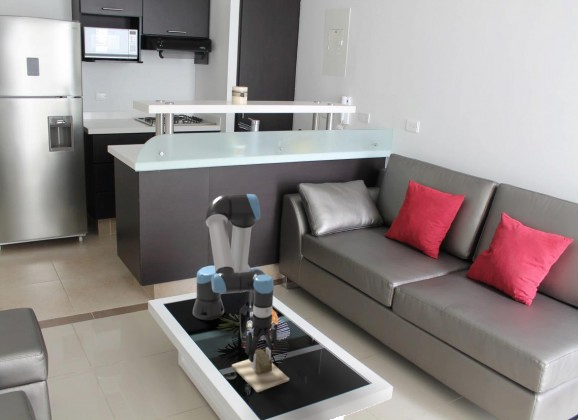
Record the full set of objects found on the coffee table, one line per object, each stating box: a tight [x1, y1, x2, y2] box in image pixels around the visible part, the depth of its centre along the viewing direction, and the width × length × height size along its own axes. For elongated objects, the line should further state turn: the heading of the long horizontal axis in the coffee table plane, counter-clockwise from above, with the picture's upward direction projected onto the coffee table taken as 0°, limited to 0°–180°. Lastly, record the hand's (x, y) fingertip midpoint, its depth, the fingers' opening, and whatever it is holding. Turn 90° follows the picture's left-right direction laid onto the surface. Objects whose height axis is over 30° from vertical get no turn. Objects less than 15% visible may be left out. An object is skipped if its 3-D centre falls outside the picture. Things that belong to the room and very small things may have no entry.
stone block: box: [255, 348, 273, 373], centre depth 220 cm, size 6×12×5 cm, turn 27°
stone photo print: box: [231, 358, 290, 393], centre depth 222 cm, size 20×15×1 cm
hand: (260, 365), depth 221 cm, fingers closed on stone block, 6 cm apart
